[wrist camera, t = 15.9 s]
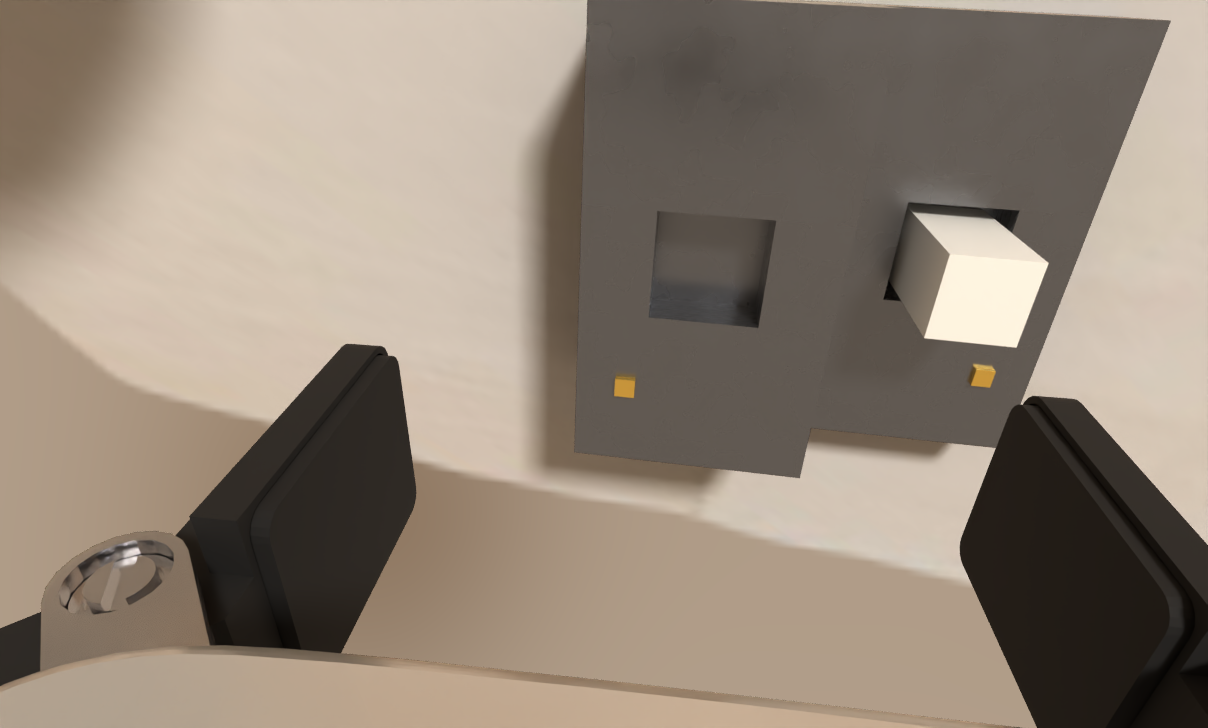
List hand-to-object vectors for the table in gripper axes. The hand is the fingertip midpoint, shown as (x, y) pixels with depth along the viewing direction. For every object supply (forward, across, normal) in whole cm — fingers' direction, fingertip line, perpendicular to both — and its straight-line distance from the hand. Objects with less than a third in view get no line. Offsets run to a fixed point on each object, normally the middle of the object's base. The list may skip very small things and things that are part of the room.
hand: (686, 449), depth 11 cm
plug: (+28, -14, +6) cm, 32 cm away
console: (+30, -8, +6) cm, 32 cm away
